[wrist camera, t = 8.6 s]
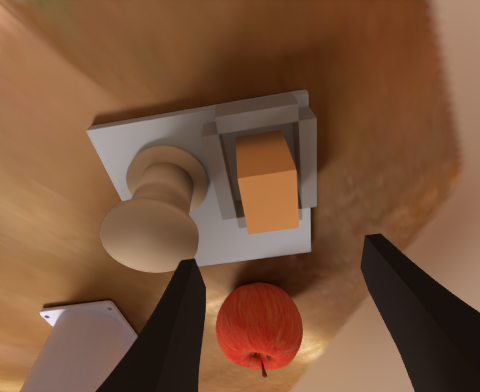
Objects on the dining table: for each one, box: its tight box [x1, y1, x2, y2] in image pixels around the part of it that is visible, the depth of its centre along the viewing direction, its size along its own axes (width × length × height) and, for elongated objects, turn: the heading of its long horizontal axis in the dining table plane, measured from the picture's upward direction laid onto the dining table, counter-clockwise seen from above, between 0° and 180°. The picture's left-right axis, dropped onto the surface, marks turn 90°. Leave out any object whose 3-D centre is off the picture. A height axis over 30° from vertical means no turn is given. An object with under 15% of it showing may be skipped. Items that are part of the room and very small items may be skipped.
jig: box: [86, 89, 317, 267], centre depth 21 cm, size 14×14×3 cm
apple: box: [216, 282, 303, 378], centre depth 27 cm, size 8×8×8 cm
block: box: [236, 130, 299, 235], centre depth 18 cm, size 4×3×5 cm
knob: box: [99, 144, 208, 273], centre depth 18 cm, size 6×6×6 cm
